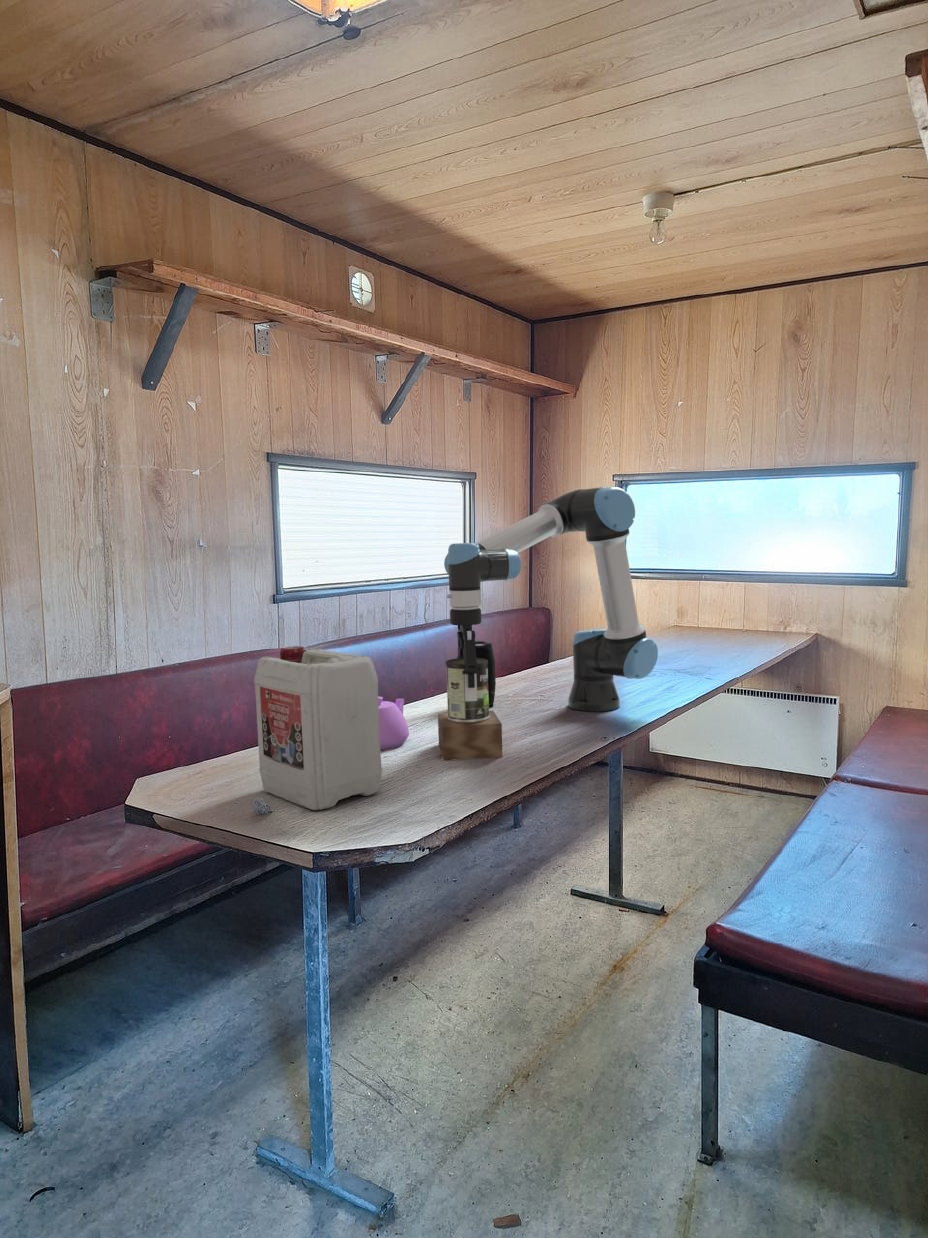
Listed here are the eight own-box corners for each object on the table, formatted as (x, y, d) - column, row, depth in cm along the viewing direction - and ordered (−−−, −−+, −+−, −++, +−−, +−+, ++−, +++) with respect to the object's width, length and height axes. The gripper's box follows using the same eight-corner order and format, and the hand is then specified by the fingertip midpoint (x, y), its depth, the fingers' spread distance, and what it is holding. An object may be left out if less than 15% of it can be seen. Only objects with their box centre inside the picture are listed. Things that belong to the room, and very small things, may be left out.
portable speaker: (501, 706, 243) (499, 642, 240) (474, 711, 238) (472, 645, 236) (486, 701, 250) (484, 639, 248) (460, 705, 245) (458, 642, 243)
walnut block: (493, 741, 203) (493, 710, 202) (502, 756, 189) (501, 723, 189) (438, 744, 202) (437, 713, 201) (443, 760, 188) (442, 726, 187)
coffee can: (492, 713, 199) (491, 657, 198) (485, 723, 189) (483, 664, 188) (452, 712, 201) (450, 657, 200) (442, 722, 191) (441, 664, 190)
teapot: (377, 758, 192) (375, 708, 191) (327, 750, 200) (324, 703, 198) (427, 736, 211) (426, 691, 209) (380, 730, 219) (378, 686, 217)
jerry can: (252, 791, 169) (243, 651, 166) (325, 771, 182) (319, 640, 179) (316, 818, 152) (308, 662, 149) (392, 793, 165) (387, 649, 162)
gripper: (445, 603, 204) (447, 686, 206) (454, 613, 179) (457, 707, 181) (474, 602, 204) (476, 684, 207) (488, 612, 180) (490, 705, 182)
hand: (468, 695), depth 194 cm, fingers open, 13 cm apart
